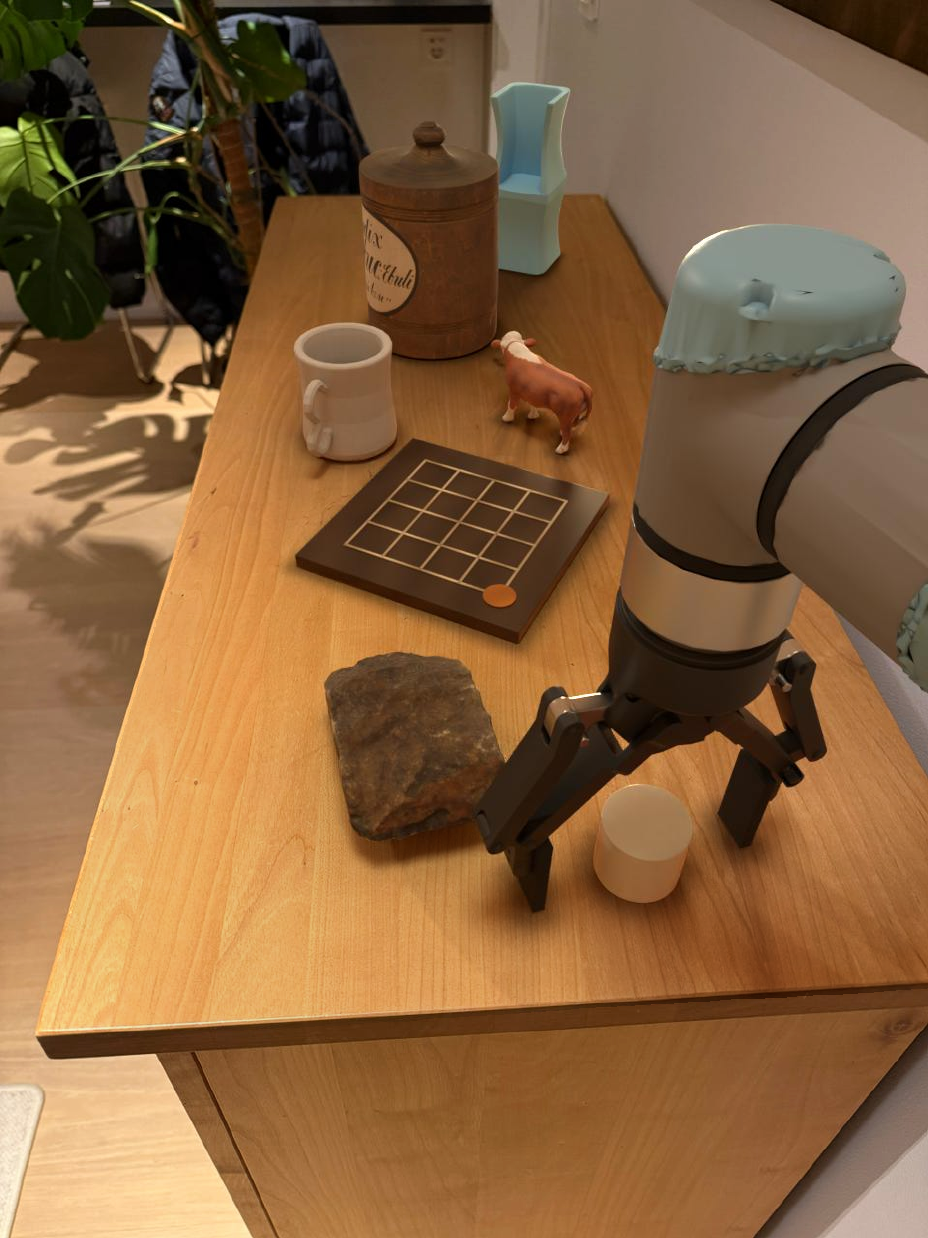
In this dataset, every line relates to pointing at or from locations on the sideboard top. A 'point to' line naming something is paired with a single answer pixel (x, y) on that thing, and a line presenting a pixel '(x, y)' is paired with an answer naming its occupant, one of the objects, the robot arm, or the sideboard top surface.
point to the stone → (410, 743)
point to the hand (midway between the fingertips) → (634, 860)
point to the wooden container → (431, 245)
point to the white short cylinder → (642, 842)
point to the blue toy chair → (529, 174)
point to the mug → (346, 391)
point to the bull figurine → (543, 387)
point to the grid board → (458, 537)
